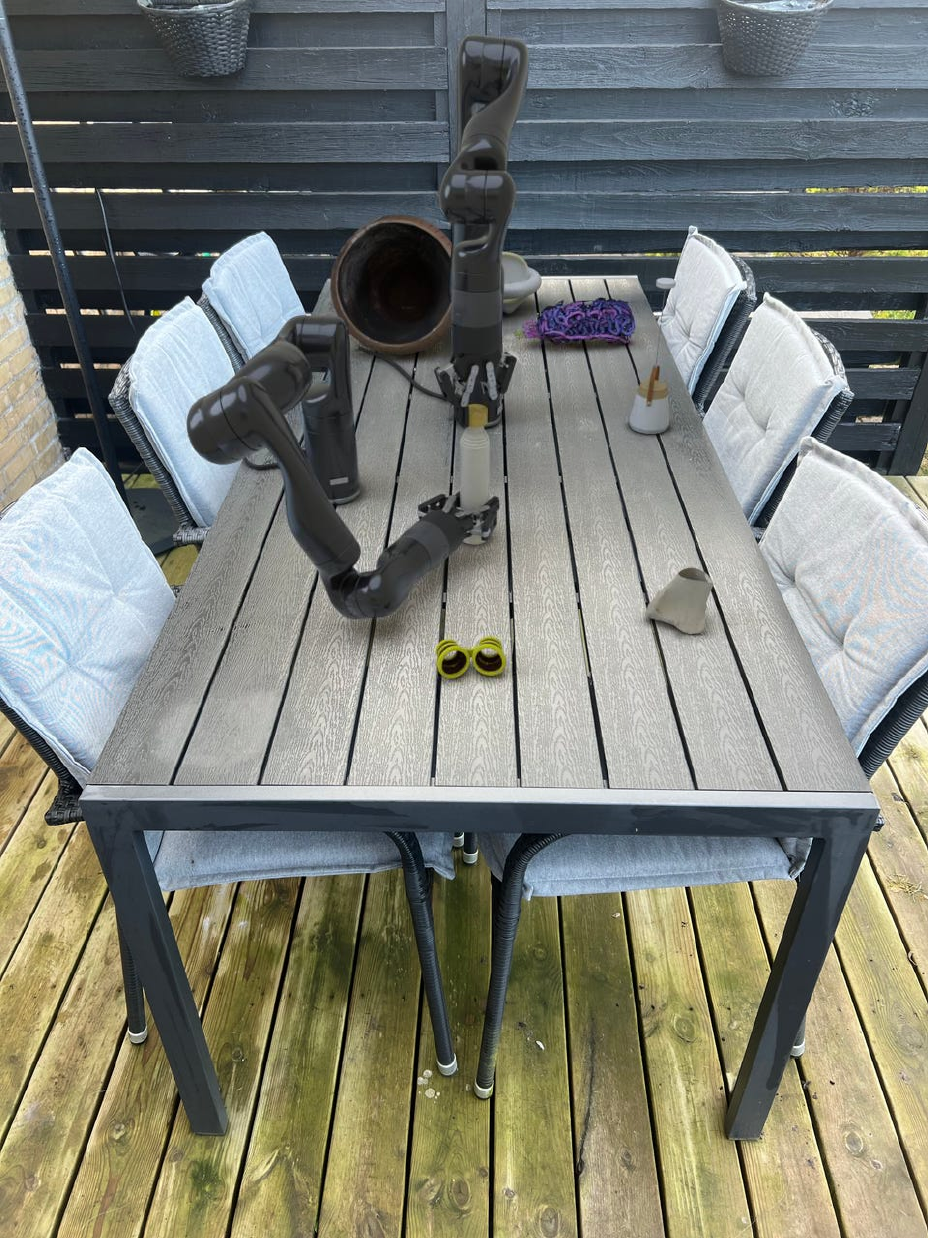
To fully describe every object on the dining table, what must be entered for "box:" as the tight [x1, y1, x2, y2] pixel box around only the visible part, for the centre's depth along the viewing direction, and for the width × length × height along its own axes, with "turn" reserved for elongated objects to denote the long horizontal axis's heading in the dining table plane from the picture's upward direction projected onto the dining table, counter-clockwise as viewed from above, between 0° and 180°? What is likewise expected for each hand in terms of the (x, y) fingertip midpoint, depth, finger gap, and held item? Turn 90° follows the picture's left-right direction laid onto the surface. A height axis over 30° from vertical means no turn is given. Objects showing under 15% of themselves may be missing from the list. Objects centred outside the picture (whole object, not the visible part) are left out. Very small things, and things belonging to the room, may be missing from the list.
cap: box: [468, 404, 488, 427], centre depth 148 cm, size 4×4×2 cm
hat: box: [501, 251, 543, 314], centre depth 248 cm, size 25×22×15 cm
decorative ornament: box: [513, 296, 636, 345], centre depth 229 cm, size 13×11×30 cm
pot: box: [329, 213, 452, 356], centre depth 230 cm, size 32×32×30 cm
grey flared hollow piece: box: [645, 566, 715, 635], centre depth 139 cm, size 9×8×10 cm
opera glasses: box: [435, 635, 507, 679], centre depth 132 cm, size 10×5×5 cm, turn 95°
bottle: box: [459, 426, 491, 546], centre depth 155 cm, size 5×5×23 cm
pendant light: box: [628, 277, 677, 435], centre depth 186 cm, size 8×8×30 cm
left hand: (482, 496), depth 159 cm, fingers closed on bottle, 5 cm apart
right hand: (475, 422), depth 148 cm, fingers closed on cap, 4 cm apart
